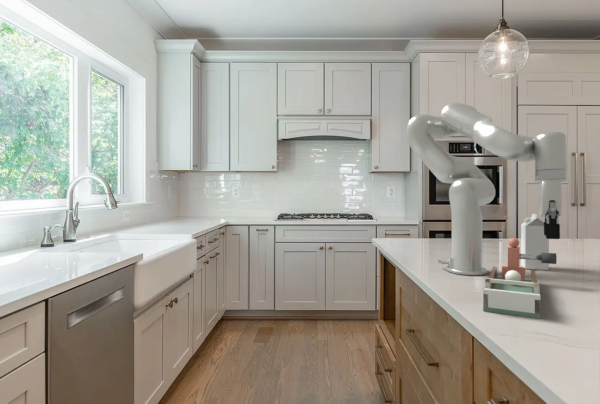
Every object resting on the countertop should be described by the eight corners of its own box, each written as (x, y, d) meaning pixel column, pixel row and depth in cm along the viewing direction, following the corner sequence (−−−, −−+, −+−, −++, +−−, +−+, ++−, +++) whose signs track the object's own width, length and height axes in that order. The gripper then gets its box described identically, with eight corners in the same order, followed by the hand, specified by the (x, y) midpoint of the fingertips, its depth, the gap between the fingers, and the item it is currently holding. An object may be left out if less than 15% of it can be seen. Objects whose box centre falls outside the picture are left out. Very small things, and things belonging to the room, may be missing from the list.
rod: (501, 277, 115) (502, 237, 114) (502, 275, 117) (502, 236, 117) (556, 282, 108) (556, 240, 108) (555, 280, 111) (555, 239, 110)
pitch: (483, 311, 88) (483, 293, 88) (493, 279, 119) (493, 266, 119) (540, 318, 82) (540, 300, 82) (534, 283, 114) (535, 269, 114)
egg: (504, 285, 107) (504, 271, 107) (505, 282, 111) (505, 268, 111) (521, 287, 105) (521, 272, 105) (521, 283, 109) (521, 269, 109)
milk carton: (543, 266, 138) (543, 213, 138) (548, 270, 131) (549, 214, 131) (520, 265, 140) (521, 213, 140) (525, 269, 134) (525, 214, 133)
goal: (483, 306, 88) (483, 283, 88) (485, 300, 93) (485, 277, 93) (540, 314, 82) (540, 288, 82) (539, 306, 88) (539, 283, 87)
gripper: (534, 178, 119) (535, 234, 119) (536, 176, 104) (537, 239, 104) (563, 177, 115) (564, 234, 115) (570, 174, 100) (571, 240, 100)
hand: (551, 237), depth 109 cm, fingers open, 9 cm apart
